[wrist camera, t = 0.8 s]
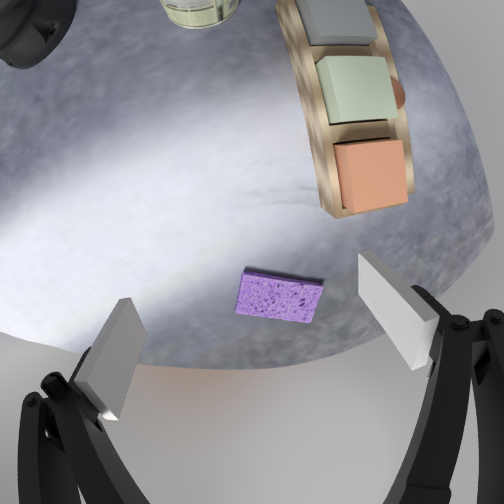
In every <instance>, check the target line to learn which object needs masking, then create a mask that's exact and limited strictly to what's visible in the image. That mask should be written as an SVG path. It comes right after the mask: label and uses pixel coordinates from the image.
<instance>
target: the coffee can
mask: <svg viewBox="0 0 504 504" xmlns="http://www.w3.org/2000/svg"><path fill="white" fill-rule="evenodd" d="M160 2H161V4H162V6H163V7H164V9H165V11H166V13H167V15H168V17H169V19H170V20H171V21H172V22H173V23H175V24H176V25H178V26H181V27H184V28H189V29H205V28H209V27H213V26H216V25H218V24H220V23H222V22H224V21H226V20H227V19H228V18H230V17H231V16H232V15H233V13H234V12H235V11H236V9H237V7H238V4H239V0H160Z"/></svg>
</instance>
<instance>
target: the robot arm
mask: <svg viewBox="0 0 504 504" xmlns="http://www.w3.org/2000/svg"><path fill="white" fill-rule="evenodd" d="M74 10H75V5H74V1H73V0H0V58H1V59H2V60H3V61H5V62H6V63H7V64H8V65H9V66H10V67H13V68H18V69H27V68H30V67H33V66H34V65H36V64H38V63H39V62H41V61H42V60H43V59H44V58H46V57H47V56H48V55H49V54H50V53H51V52H52V51H53V50H54V48H55V47H56V46H57V45H58V44H59V42H60V41H61V39H62V38H63V36H64V35H65V33H66V32H67V30H68V28H69V26H70V24H71V21H72V19H73V15H74ZM358 261H359V295H360V297H361V298H362V299H363V301H364V302H365V303H366V305H367V306H368V308H369V309H370V310H371V312H372V313H373V314H374V316H375V317H376V319H377V320H378V321H379V323H380V324H381V326H382V327H383V329H384V330H385V331H386V333H387V334H388V336H389V337H390V338H391V340H392V341H393V343H394V344H395V346H396V347H397V349H398V350H399V352H400V353H401V355H402V356H403V358H404V359H405V361H406V362H407V364H408V365H409V367H410V368H411V370H415V369H417V368H419V367H421V366H424V365H426V363H427V359H428V356H430V357H431V358H432V360H433V363H432V366H431V368H430V371H429V374H428V377H429V380H428V384H427V388H426V393H425V396H424V400H423V404H422V408H421V411H420V414H419V418H418V421H417V424H416V427H415V430H414V433H413V437H412V439H411V442H410V445H409V448H408V450H407V453H406V455H405V458H404V461H403V463H402V465H401V468H400V470H399V472H398V474H397V477H396V479H395V481H394V483H393V485H392V487H391V489H390V491H389V493H388V495H387V498H386V499H385V501H384V503H383V504H449V502H450V498H451V490H450V488H449V485H450V481H451V478H452V475H453V471H454V468H455V465H456V461H457V457H458V454H459V450H460V445H461V441H462V436H463V431H464V426H465V421H466V415H467V407H468V401H469V392H470V382H471V379H472V385H473V392H474V398H475V406H476V415H477V424H478V439H479V440H478V441H479V479H478V495H477V504H504V313H503V312H502V311H500V310H497V309H490V310H488V311H486V312H485V314H484V317H483V320H478V321H472V322H470V320H469V319H468V318H466V317H464V316H462V315H451V314H450V313H449V312H448V311H447V310H446V309H445V308H444V307H443V306H442V305H441V304H440V303H439V302H438V301H437V300H435V298H434V297H433V296H431V294H430V293H429V292H428V291H426V290H425V289H424V288H422V287H420V286H418V285H414V286H409V285H408V284H407V283H406V282H405V281H404V280H403V279H402V278H401V277H400V276H399V275H397V274H396V273H395V272H394V271H393V270H392V269H391V268H390V267H389V266H388V265H387V264H386V263H384V262H383V261H382V260H381V259H380V258H379V257H378V256H377V255H375V254H374V253H373V252H372V251H371V250H367V251H363V252H359V253H358ZM146 337H147V332H146V330H145V328H144V326H143V324H142V322H141V320H140V318H139V315H138V313H137V311H136V309H135V307H134V304H133V302H132V300H131V298H124V299H119V301H118V303H117V304H116V306H115V308H114V309H113V311H112V313H111V314H110V316H109V318H108V319H107V321H106V323H105V324H104V326H103V328H102V329H101V331H100V333H99V335H98V336H97V338H96V340H95V342H94V343H93V345H92V347H89V348H88V349H87V350H86V351H85V352H84V354H83V355H82V357H81V359H80V361H79V363H78V364H77V367H76V368H75V370H74V372H73V374H72V376H71V378H70V380H69V382H68V383H67V381H66V380H65V379H64V377H63V376H62V375H61V373H59V372H52V373H49V374H48V375H47V376H46V377H45V378H44V379H43V381H42V382H41V388H42V390H43V391H44V392H45V393H46V394H47V396H48V398H42V396H41V395H40V394H39V393H38V392H32V393H29V394H28V395H27V396H26V397H25V399H24V400H23V404H22V411H21V419H20V428H19V441H18V494H19V504H81V500H80V495H79V490H78V486H79V489H80V491H81V493H82V495H83V497H84V499H85V502H86V504H150V503H149V502H148V500H147V499H146V497H145V496H144V495H143V493H142V492H141V490H140V489H139V487H138V486H137V485H136V483H135V481H134V480H133V478H132V477H131V475H130V474H129V472H128V471H127V469H126V467H125V466H124V464H123V462H122V461H121V459H120V457H119V455H118V454H117V452H116V450H115V448H114V446H113V445H112V443H111V441H110V439H109V437H108V435H107V433H106V431H105V429H104V427H103V425H102V423H101V421H100V420H99V419H98V418H97V417H98V414H99V412H100V413H101V414H102V415H103V417H104V418H105V419H109V420H119V417H120V414H121V410H122V407H123V404H124V401H125V398H126V394H127V391H128V388H129V385H130V382H131V379H132V376H133V373H134V370H135V368H136V365H137V362H138V359H139V356H140V353H141V351H142V348H143V345H144V342H145V340H146ZM45 431H46V432H47V433H48V437H47V436H46V434H45ZM77 484H78V485H77Z"/></svg>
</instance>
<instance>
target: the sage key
mask: <svg viewBox="0 0 504 504" xmlns="http://www.w3.org/2000/svg"><path fill="white" fill-rule="evenodd" d="M315 67H316V71H317V75H318V79H319V83H320V87H321V91H322V95H323V99H324V104H325V108H326V113H327V117H328V122H329V124H331V123H340V122H350V121H361V120H374V119H387V118H399V117H398V112H397V106H396V101H395V97H394V92H393V88H392V83H391V79H390V75H389V71H388V68H387V64H386V60H385V57H374V56H325V57H324V58H323V59H321V60H320V61H319V62H318V63H317V64H316V65H315Z"/></svg>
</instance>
